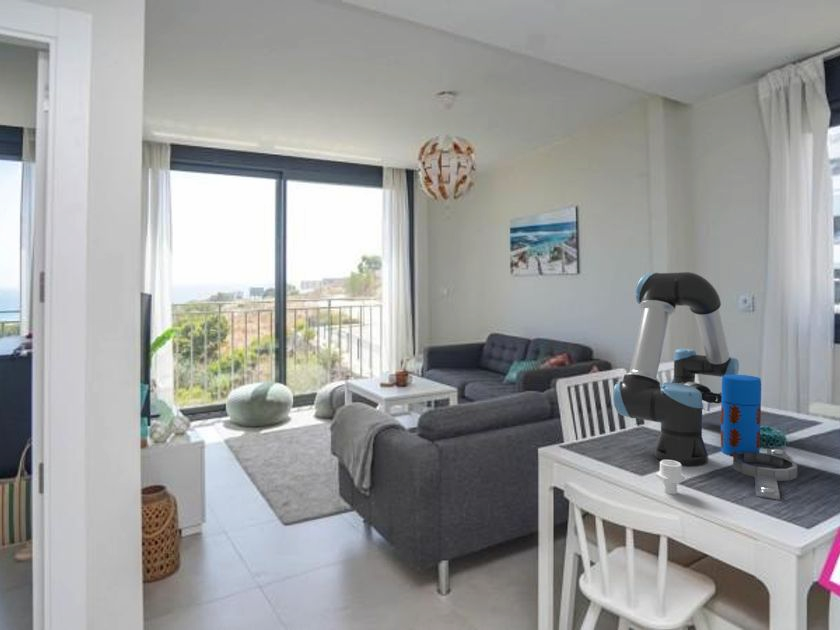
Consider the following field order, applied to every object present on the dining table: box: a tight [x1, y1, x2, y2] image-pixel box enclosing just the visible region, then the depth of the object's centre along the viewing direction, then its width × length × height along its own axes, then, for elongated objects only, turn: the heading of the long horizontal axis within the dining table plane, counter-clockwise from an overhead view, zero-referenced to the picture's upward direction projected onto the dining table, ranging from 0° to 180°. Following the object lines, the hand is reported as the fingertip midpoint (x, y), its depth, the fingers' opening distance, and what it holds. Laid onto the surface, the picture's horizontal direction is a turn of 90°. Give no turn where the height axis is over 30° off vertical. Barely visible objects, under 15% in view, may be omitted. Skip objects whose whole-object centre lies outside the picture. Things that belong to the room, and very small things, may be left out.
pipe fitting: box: [655, 460, 686, 495], centre depth 135 cm, size 6×7×8 cm
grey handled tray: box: [732, 448, 798, 501], centre depth 148 cm, size 16×41×3 cm, turn 148°
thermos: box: [720, 374, 762, 458], centre depth 164 cm, size 11×11×25 cm
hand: (729, 407), depth 171 cm, fingers open, 13 cm apart
